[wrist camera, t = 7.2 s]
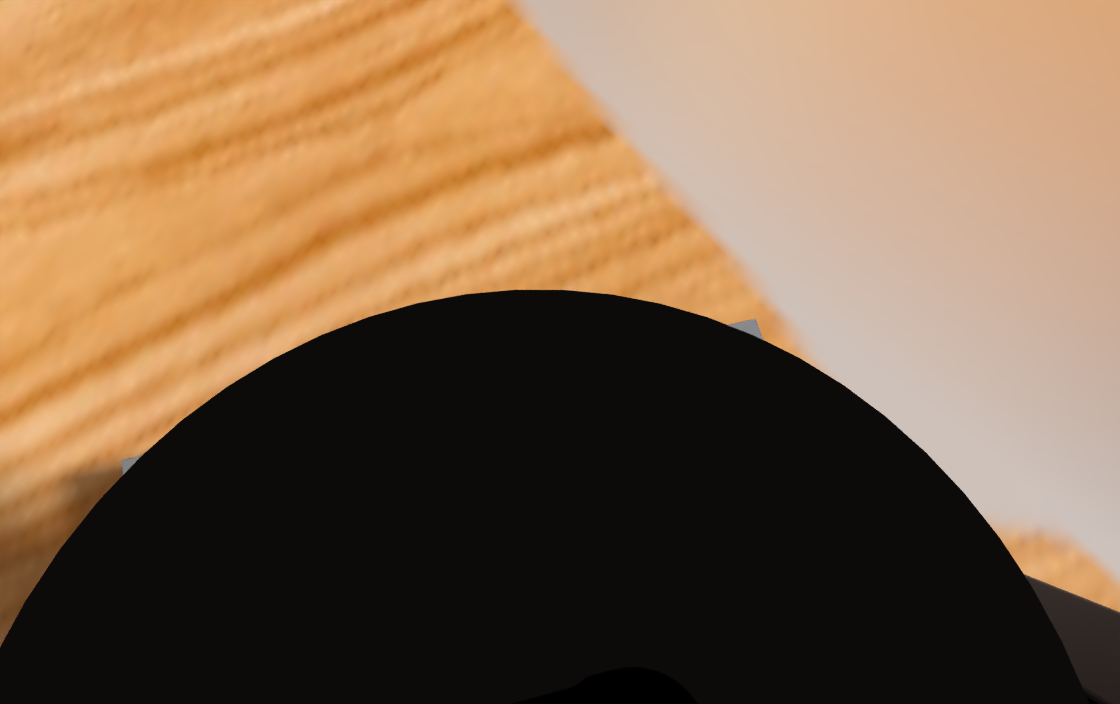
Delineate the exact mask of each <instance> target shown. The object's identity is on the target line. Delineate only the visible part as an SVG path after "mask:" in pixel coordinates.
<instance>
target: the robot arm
mask: <svg viewBox="0 0 1120 704" xmlns="http://www.w3.org/2000/svg"><path fill="white" fill-rule="evenodd" d="M1024 575H1025V574H1024ZM1025 577H1026V578H1027V580H1028V581H1029V583H1030V584H1031V586H1032V588H1033V589H1034V591H1035V593H1036V595H1037V597H1038V598H1039V600H1040V602H1041V604H1042V606H1043V608H1044V609H1045V611H1046V613H1047V615H1048V617H1049V619H1050V620H1051V622H1052V624H1053V626H1054V628H1055V629H1056V631H1057V633H1058V635H1059V637H1060V639H1061V640H1062V643H1063V645H1064V647H1065V649H1066V652H1067V654H1068V656H1069V658H1070V661H1071V663H1072V665H1073V667H1074V670H1075V672H1076V674H1077V676H1078V679H1079V681H1080V683H1081V685H1082V688H1083V690H1084V692H1085V694H1086V697H1087V699H1088V702H1089V704H1120V612H1118V611H1115V610H1113V609H1110V608H1108V607H1105V606H1103V605H1100V604H1098V603H1095V602H1093V601H1090V600H1088V599H1085V598H1083V597H1080V596H1077V595H1075V594H1072V593H1070V592H1067V591H1065V590H1062V589H1060V588H1057V587H1055V586H1052V585H1050V584H1047V583H1045V582H1042V581H1040V580H1037V579H1035V578H1032V577H1030V576H1027V575H1025Z"/></svg>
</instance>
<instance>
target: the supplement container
mask: <svg viewBox="0 0 1120 704" xmlns="http://www.w3.org/2000/svg"><path fill="white" fill-rule="evenodd" d="M0 704H1089V702H1088V699H1087V697H1086V694H1085V692H1084V690H1083V688H1082V685H1081V683H1080V681H1079V679H1078V676H1077V674H1076V672H1075V670H1074V667H1073V665H1072V663H1071V661H1070V658H1069V656H1068V654H1067V652H1066V649H1065V647H1064V645H1063V643H1062V640H1061V639H1060V637H1059V635H1058V633H1057V631H1056V629H1055V628H1054V626H1053V624H1052V622H1051V620H1050V619H1049V617H1048V615H1047V613H1046V611H1045V609H1044V608H1043V606H1042V604H1041V602H1040V600H1039V598H1038V597H1037V595H1036V593H1035V591H1034V589H1033V588H1032V586H1031V584H1030V583H1029V581H1028V580H1027V578H1026V577H1025V575H1024V574H1023V572H1022V571H1021V569H1020V568H1019V566H1018V565H1017V563H1016V562H1015V560H1014V559H1013V557H1012V556H1011V554H1010V553H1009V551H1008V550H1007V548H1006V547H1005V545H1004V544H1003V542H1002V541H1001V539H1000V538H999V536H998V535H997V534H996V533H995V531H994V530H993V529H992V528H991V526H990V525H989V524H988V523H987V521H986V520H985V519H984V518H983V516H982V515H981V514H980V513H979V511H978V510H977V509H976V507H975V506H974V505H973V504H972V503H971V501H970V500H969V499H968V497H967V496H966V495H965V494H964V493H963V491H962V490H961V489H960V488H959V487H958V486H957V485H956V484H955V483H954V482H953V481H952V480H951V479H950V478H949V477H948V475H946V473H945V472H944V471H943V470H942V469H941V468H940V467H939V466H938V465H937V464H936V463H935V462H934V461H933V460H932V459H931V458H930V456H929V455H928V454H927V453H926V452H925V451H924V450H922V449H921V448H920V447H919V446H918V445H917V444H916V443H915V442H913V441H912V440H911V439H910V438H909V437H908V436H907V435H905V434H904V433H903V432H902V431H901V430H900V429H899V428H898V427H897V426H896V425H894V424H893V423H892V422H891V421H890V420H889V419H888V418H886V417H885V416H884V415H883V414H881V413H880V412H879V411H877V410H876V409H875V408H873V407H872V406H871V405H869V404H868V403H867V402H865V401H864V400H863V399H861V398H860V397H859V396H857V395H856V394H855V393H853V392H852V391H851V390H849V389H848V388H846V387H845V386H844V385H842V384H841V383H839V382H837V381H836V380H834V379H833V378H831V377H829V376H828V375H826V374H824V373H823V372H821V371H820V370H818V369H816V368H815V367H813V366H811V365H810V364H808V363H807V362H805V361H803V360H802V359H800V358H798V357H796V356H794V355H792V354H790V353H788V352H786V351H784V350H782V349H780V348H778V347H776V346H774V345H772V344H770V343H768V342H766V341H764V340H762V339H760V338H758V337H756V336H754V335H751V334H749V333H746V332H744V331H741V330H739V329H736V328H734V327H731V326H728V325H726V324H723V323H721V322H718V321H716V320H713V319H710V318H708V317H704V316H701V315H697V314H694V313H690V312H687V311H684V310H680V309H677V308H673V307H670V306H666V305H663V304H659V303H653V302H648V301H643V300H637V299H632V298H627V297H622V296H616V295H610V294H600V293H589V292H579V291H568V290H509V291H498V292H487V293H476V294H465V295H460V296H455V297H449V298H444V299H438V300H433V301H428V302H422V303H417V304H413V305H410V306H406V307H403V308H399V309H396V310H392V311H389V312H385V313H381V314H378V315H374V316H371V317H368V318H365V319H362V320H360V321H357V322H355V323H352V324H349V325H347V326H344V327H342V328H339V329H336V330H334V331H331V332H329V333H326V334H323V335H321V336H319V337H317V338H315V339H313V340H310V341H308V342H306V343H304V344H302V345H300V346H298V347H296V348H294V349H292V350H290V351H288V352H286V353H284V354H282V355H280V356H278V357H276V358H274V359H272V360H271V361H269V362H267V363H266V364H264V365H262V366H261V367H259V368H257V369H256V370H254V371H252V372H251V373H249V374H247V375H246V376H244V377H243V378H241V379H239V380H238V381H236V382H234V383H233V384H231V385H229V386H228V387H226V388H225V389H224V390H222V391H221V392H220V393H218V394H217V395H215V396H214V397H213V398H211V399H210V400H209V401H207V402H206V403H205V404H203V405H202V406H201V407H199V408H198V409H197V410H195V411H194V412H192V413H191V414H190V415H188V416H187V417H186V418H184V419H183V420H182V421H181V422H179V423H178V424H177V425H176V426H175V427H174V428H173V429H172V430H170V431H169V432H168V433H167V434H166V435H165V436H164V437H163V438H161V439H160V440H159V441H158V442H157V443H156V444H155V445H153V446H152V447H151V448H150V449H149V450H148V451H147V452H146V453H144V454H143V455H142V456H141V457H140V458H139V459H138V460H137V461H136V462H135V463H134V464H133V465H132V466H131V467H130V468H129V469H128V470H127V472H126V473H125V474H124V475H123V476H122V477H121V478H120V479H119V480H118V481H117V482H116V483H115V484H114V485H113V486H112V487H111V488H110V489H109V490H108V492H107V493H106V494H105V495H104V496H103V497H102V498H101V499H100V500H99V501H98V502H97V504H96V505H95V506H94V507H93V509H92V510H91V511H90V512H89V514H88V515H87V516H86V517H85V519H84V520H83V521H82V522H81V524H80V525H79V526H78V527H77V529H76V530H75V531H74V532H73V534H72V535H71V536H70V537H69V539H68V540H67V541H66V542H65V544H64V545H63V546H62V547H61V549H60V550H59V552H58V553H57V555H56V556H55V558H54V559H53V561H52V562H51V564H50V565H49V567H48V568H47V570H46V571H45V573H44V574H43V576H42V577H41V579H40V580H39V582H38V583H37V585H36V586H35V588H34V589H33V591H32V592H31V594H30V595H29V597H28V598H27V600H26V601H25V603H24V605H23V607H22V608H21V610H20V612H19V614H18V616H17V618H16V619H15V621H14V623H13V625H12V627H11V629H10V630H9V632H8V634H7V636H6V638H5V640H4V641H3V643H2V645H1V647H0Z"/></svg>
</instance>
